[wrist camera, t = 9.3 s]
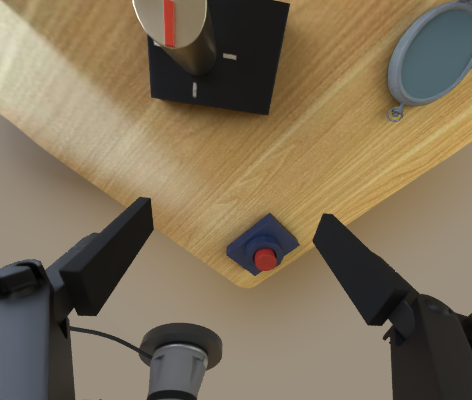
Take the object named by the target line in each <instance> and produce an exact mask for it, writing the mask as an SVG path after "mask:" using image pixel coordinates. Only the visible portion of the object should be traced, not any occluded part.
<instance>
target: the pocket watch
mask: <svg viewBox="0 0 472 400" xmlns="http://www.w3.org/2000/svg"><path fill="white" fill-rule="evenodd" d="M466 2H467V3H466ZM471 68H472V0H457V1H453V2H448V3H445V4H442V5H439V6H437V7H435V8H433V9H431V10H429V11H428V12H426V13H425V14H423V15H422V16H421V17H420V18H419V19H418V20H416V21H415V22H414V23H413V24H412V26H411V27H410V28H409V29H408V30H407V31H406V32H405V34H404V35H403V36H402V38H401V39H400V41H399V42H398V44H397V46H396V48H395V50H394V52H393V54H392V57H391V60H390V63H389V67H388V76H387V80H388V87H389V90H390V93H391V94H392V96H393V97H394V98H395V99H396V100H397V101H398V102H400V105H399V107H395V108H393V109H390V110H389V111H388V113H387V118H388V119H389V120H390V121H393V122H397V121H400V120H401V119H402V117H403V112H404V111H403V108H402V107H403V106H404V105H406V106H422V105H426V104H429V103H432V102H434V101H436V100H438V99H439V98H441V97H442V96H444V95H445V94H447V93H448V92H450V91H451V90H452V89H453V88H455V87H456V86H457V85H458V84H459V83H460V82H461V81H462V80H463V78H464V77H465V76H466V75H467V73H468V72H469V71H470V69H471ZM391 110H392V111H393V112H394V113H392V116H393V117H397V116H399V114H401V118H400V119H399V120H392V119H390V118H389V112H390V111H391Z"/></svg>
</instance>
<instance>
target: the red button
mask: <svg viewBox="0 0 472 400" xmlns="http://www.w3.org/2000/svg"><path fill="white" fill-rule="evenodd" d="M254 259H255V265H256V267H257V268H258V269H259V270H262V271H269V270H271V269H273V268H274V267H275V266H276V264H277V260H276V257H275V254H274V252H273V251H272V250H271V249H268V248H263V249H260V250H258V251H257V252H256V253H255V255H254Z"/></svg>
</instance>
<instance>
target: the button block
mask: <svg viewBox="0 0 472 400" xmlns="http://www.w3.org/2000/svg"><path fill="white" fill-rule="evenodd" d="M298 246H300V245H299V243H298V241H297V239H296V237H295V236H293V235H292V234H291V233H290V232H289V231H288V230H287V229H286V228H285V227H284V226H283V225H282V224H281V223H280V222H279V221H278V220H277V219H276V218H275V217H274V216H273V215H272V214H271V213H269V214H268V215H266V216H265V217H264V218H263V219H261V220H260V221H259V222H258V223H256V224H255V225H254V226H253V227H251V228H250V229H249V230H248V231H246V232H245V233H244V234H243V235H241V236H240V237H239V238H238V239H236V240H235V241H234V242H233V243H231V244H230V245H229V246H228V247H227V256H229V257H230V258H231V259H233V260H234V261H235V262H237V263H238V264H239V265H241V266H242V267H243V268H245V269H246V270H247V271H249V272H250V273H252V274H253V275H254V276H256V275H257V274H259V273H260V272H262V270H259V269H258V268H257V267H256V265H255V259H254V255H255V253H256V252H257V251H258V250H260V249H263V248H268V249H271V250H272V251H273V252H274V254H275V257H276V260H277V264H276V266H278V265H279V264H280V263H281V261H282V259H283V258H284V256H285V255H286V254H288V253H289V252H291V251H292V250H294V249H295V248H297V247H298ZM276 266H275V267H276ZM275 267H274V268H275ZM274 268H273V269H274Z"/></svg>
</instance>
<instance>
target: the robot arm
mask: <svg viewBox="0 0 472 400" xmlns="http://www.w3.org/2000/svg"><path fill="white" fill-rule="evenodd" d="M153 230H154V227H153V217H152V208H151V198H145V197H139V198H138V199H137V200H136V201H135V202H134V203H132V204H131V205H130V206H129V207H128V208H127V209H126V210H125V211H124V212H123V213H121V214H120V215H119V216H118V217H117V218H116V219H115V220H114V221H113V222H112V223H110V224H109V225H108V226H107V227H106V228H105V229H104V230H103V231H102V232H100V233H92V234H90V235H89V236H86V237H85V238H83V239H82V240H80V241H79V242H78V243H77V244H76V245H75V246H74V247H72V248H71V249H70V250H69V251H68V252H66V253H65V254H64V255H63V256H61V257H60V258H59V259H58V260H57V261H55V262H54V263H53V264H52V265H51V266H49V267H48V268H47V269H46V270H44V268H43V265H42V263H41V261H38V260H35V259H34V260H23V261H18V262H15V263H12V264H9V265H7V266H5V267H3V268H1V269H0V400H75V391H74V377H73V365H72V351H71V338H70V330H72V331H78V332H84V333H90V334H94V335H99V336H102V337H106V338H109V339H111V340H115V341H117V342H119V343H121V344H123V345H125V346H127V347H129V348H131V349H133V350H135V351H136V352H138V353H140V354H141V355H143V356H145V357H147V358H149V359H150V360H151V364H150V380H149V393H148V397H147V400H197V395H198V392H199V388H200V386H201V383H202V380H203V376H204V374H205V371H206V368H207V364H208V352H207V351H206V350H205V349H204V348H203V347H201V346H200V345H197V344H195V343H191V342H185V341H173V342H168V343H164V344H162V345H160V346H158V347H157V348H156V349H155V350H154V352H153V355H152V356H151V355H149V354H147V353H145V352H144V351H142V350H140V349H139V348H137V347H135V346H133V345H131V344H130V343H128V342H126V341H124V340H122V339H119V338H117V337H115V336H112V335H109V334H106V333H102V332H98V331H94V330H89V329H83V328H76V327H71V326H70V324H69V319H68V317H67V316H68V314H69V313H70V312H71V311H72V309H73V308H75V310H76V312H77V314H78V315H79V316H97V314H98V313H99V311H100V310H101V308H102V307H103V305H104V304H105V302H106V301H107V299H108V298H109V296H110V294H111V293H112V292H113V290H114V289H115V287H116V286H117V284H118V282H119V281H120V279H121V278H122V276H123V275H124V273H125V272H126V270H127V269H128V267H129V266H130V264H131V263H132V261H133V260H134V258H135V257H136V255H137V254H138V252H139V251H140V249H141V248H142V246H143V245H144V243H145V242H146V240H147V239H148V237H149V236H150V234H151V233H152V231H153ZM313 243H314V244H315V246H316V248H317V249H318V250H319V252H320V254H321V255H322V256H323V258H324V259H325V261H326V263H327V264H328V266H329V267H330V269H331V270H332V272H333V273H334V275H335V276H336V278H337V279H338V281H339V282H340V284H341V285H342V287H343V288H344V290H345V291H346V293H347V294H348V296H349V297H350V299H351V300H352V302H353V303H354V305H355V306H356V308H357V309H358V311H359V312H360V314H361V315H362V317H363V319H364V320H365V322H366V323H367V325H372V326H373V325H374V326H382V325H383V324H384V323H385V321H386V320H387V319H389V320H390V322H391V323H392V324H393V325H392V327H391V328H390V329H389V330H388V331H387V332H386V334H385V335H384V336H383V340H386V339H387V338H388V337H390V342H389V343H390V344H391V364H392V365H391V366H392V389H393V400H472V314H470V315H469V316H468V317H467V316H464V315H461V314H457V313H455V312H453V311H452V310H451V309H450V308H449V307H448V306H447V305H445V304H444V303H443V302H441V301H439V300H438V299H436V298H434V297H431V296H429V295H424V294H419V293H418V292H417V291H416V290H415V289H414V288H413V287H412V286H411V285H410V284H409V283H408V282H407V281H406V280H404V279H403V278H402V277H401V276H400V275H399V274H398V273H397V272H395V270H394V269H393V268H392V267H390V266H389V265H388V264H387V263H386V262H385V261H384V260H383V259H382V258H381V257H379V256H378V255H376V254H375V253H373V252H371V251H370V250H369V249H368V248H367V247H366V246H365V245H364V244H363V243H362V242H361V241H360V240H359V239H358V238H357V237H356V236H355V235H353V234H352V233H351V232H350V231H349V230H348V229H347V228H346V227H345V226H344V225H343V224H342V223H341V222H340V221H339V220H338V219H337V218H336V217H335V216H334V215H333V214H324V213H323V215H322V217H321V220H320V223H319V225H318V228H317V230H316V233H315V236H314V238H313ZM100 400H101V399H100Z"/></svg>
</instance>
